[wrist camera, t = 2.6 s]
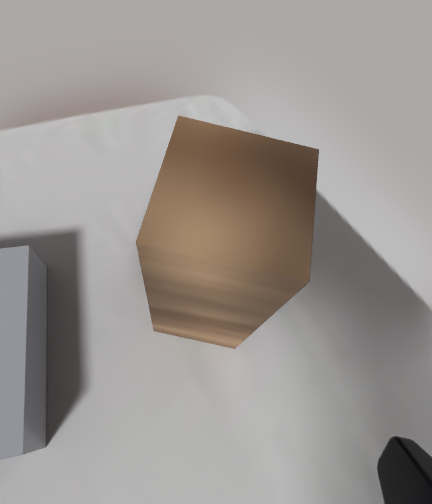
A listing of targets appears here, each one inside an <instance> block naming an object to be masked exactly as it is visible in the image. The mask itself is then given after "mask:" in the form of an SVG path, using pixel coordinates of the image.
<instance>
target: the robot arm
mask: <svg viewBox="0 0 432 504" xmlns="http://www.w3.org/2000/svg"><path fill="white" fill-rule="evenodd" d="M377 470H378V476H379V481H380V485H381V490H382V494H383V499H384V503H385V504H432V457H431V456H430V455H428V454H427V453H426V452H425V451H424V450H423V449H422V448H421V447H420V446H419V445H417V444H416V443H415V442H414V441H412V440H410V439H407V438H402V437H397V436H394V437H392V438H390V440H389V442H388V443H387V445H386V447H385V449H384V451H383V453H382V455H381V456H380V458H379V460H378V465H377Z"/></svg>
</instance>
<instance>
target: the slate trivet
mask: <svg viewBox="0 0 432 504" xmlns="http://www.w3.org/2000/svg"><path fill="white" fill-rule="evenodd" d="M46 352H47V266H46V264H45V263H44V262H43V261H42V260H41V259H40V258H39V256H38V255H37V254H36V253H35V252H34V251H33V249H32V248H31V247H30V246H29V245H27V246H18V247H9V248H0V459H4V458H9V457H13V456H18V455H22V454H26V453H29V452H32V451H35V450H38V449H41V448H44V447H46Z"/></svg>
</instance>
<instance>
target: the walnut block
mask: <svg viewBox="0 0 432 504" xmlns="http://www.w3.org/2000/svg"><path fill="white" fill-rule="evenodd" d="M318 154H319V150H318V149H315V148H310V147H306V146H302V145H298V144H294V143H290V142H285V141H281V140H277V139H273V138H269V137H265V136H261V135H257V134H253V133H248V132H244V131H240V130H236V129H232V128H228V127H224V126H219V125H215V124H211V123H207V122H203V121H199V120H195V119H190V118H186V117H182V116H178V118H177V121H176V124H175V127H174V130H173V133H172V136H171V139H170V142H169V145H168V148H167V151H166V154H165V157H164V160H163V163H162V166H161V169H160V172H159V175H158V178H157V181H156V184H155V187H154V190H153V193H152V196H151V199H150V202H149V205H148V208H147V211H146V214H145V217H144V220H143V223H142V226H141V229H140V232H139V235H138V237H137V240H136V245H137V250H138V255H139V260H140V265H141V270H142V274H143V279H144V284H145V289H146V294H147V299H148V304H149V309H150V314H151V319H152V324H153V329H154V331H157V332H161V333H166V334H170V335H175V336H179V337H184V338H189V339H193V340H198V341H202V342H207V343H211V344H216V345H220V346H225V347H229V348H234V349H235V348H236V347H237V346H238V345H239V344H241V343H242V342H243V341H244V340H245V339H246V338H247V337H248V336H249V335H251V334H252V333H253V332H254V331H255V330H256V329H257V328H258V327H259V326H261V325H262V324H263V323H264V322H265V321H266V320H267V319H268V318H269V317H271V316H272V315H273V314H274V313H275V312H276V311H277V310H278V309H279V308H281V307H282V306H283V305H284V304H285V303H286V302H287V301H288V300H289V299H291V298H292V297H293V296H294V295H295V294H296V293H297V292H298V291H299V290H301V289H302V288H303V287H304V286H305V285H306V284H307V283H308V282H309V280H310V266H311V252H312V238H313V224H314V210H315V196H316V182H317V167H318Z"/></svg>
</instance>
